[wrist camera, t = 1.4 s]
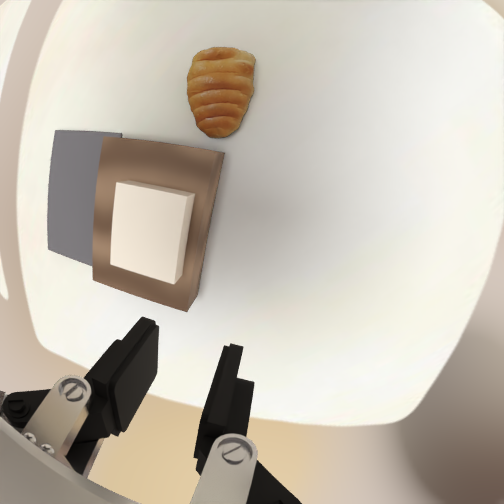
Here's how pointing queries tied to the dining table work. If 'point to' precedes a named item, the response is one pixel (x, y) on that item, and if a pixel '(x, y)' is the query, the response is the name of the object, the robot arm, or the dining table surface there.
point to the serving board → (165, 175)
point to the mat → (73, 192)
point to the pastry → (220, 89)
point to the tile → (150, 229)
